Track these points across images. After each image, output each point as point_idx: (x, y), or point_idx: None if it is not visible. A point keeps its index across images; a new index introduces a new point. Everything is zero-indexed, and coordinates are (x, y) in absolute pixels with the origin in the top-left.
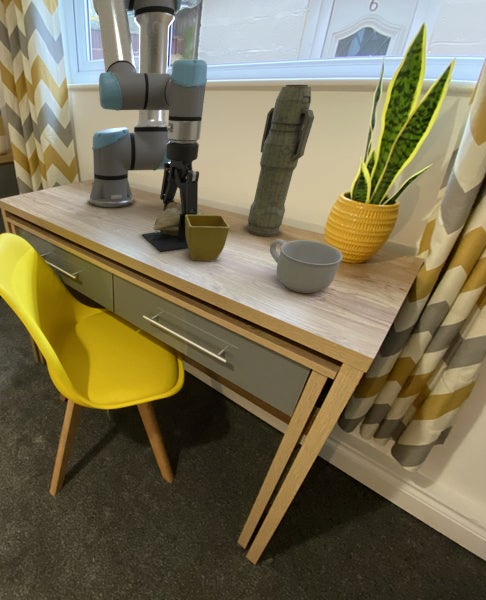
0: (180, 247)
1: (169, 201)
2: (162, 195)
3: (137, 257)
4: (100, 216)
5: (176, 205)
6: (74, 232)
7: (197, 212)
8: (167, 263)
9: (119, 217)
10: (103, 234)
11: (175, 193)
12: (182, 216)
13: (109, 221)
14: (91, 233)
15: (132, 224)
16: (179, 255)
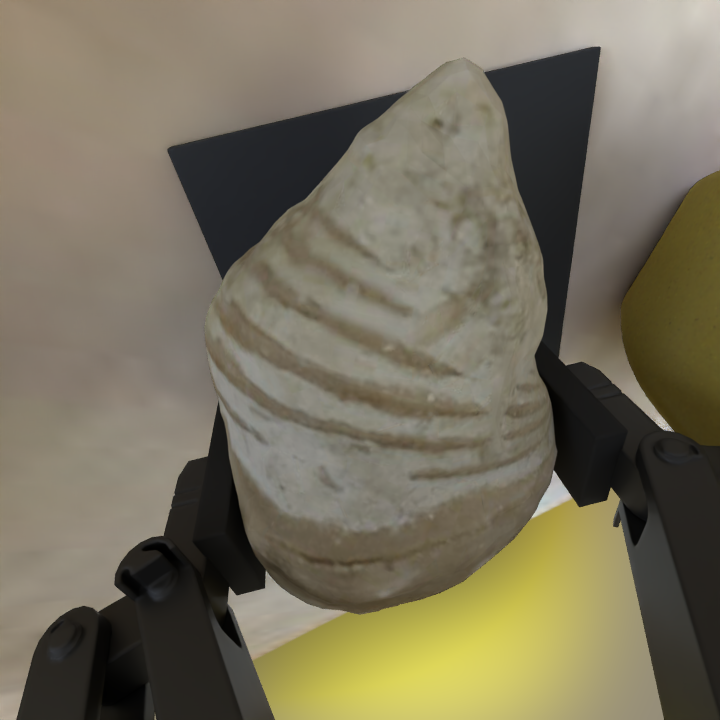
0: (554, 352)
1: (209, 600)
2: (152, 711)
3: (547, 500)
4: (19, 636)
5: (464, 577)
6: (264, 652)
7: (478, 304)
8: (652, 417)
9: (3, 582)
10: (289, 596)
11: (242, 709)
12: (604, 487)
13: (98, 603)
14: (276, 621)
15: (128, 530)
16: (614, 362)
